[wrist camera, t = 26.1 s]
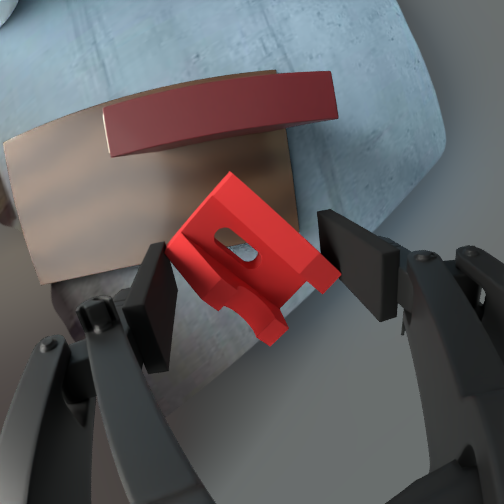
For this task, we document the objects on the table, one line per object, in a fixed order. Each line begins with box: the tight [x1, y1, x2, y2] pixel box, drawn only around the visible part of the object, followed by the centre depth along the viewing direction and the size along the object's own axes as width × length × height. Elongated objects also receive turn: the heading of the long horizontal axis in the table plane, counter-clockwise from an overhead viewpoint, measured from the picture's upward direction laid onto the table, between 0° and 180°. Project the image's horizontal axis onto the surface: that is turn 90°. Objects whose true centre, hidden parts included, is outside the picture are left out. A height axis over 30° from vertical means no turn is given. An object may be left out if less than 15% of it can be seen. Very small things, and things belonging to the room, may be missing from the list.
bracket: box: [164, 171, 341, 346], centre depth 15 cm, size 6×5×3 cm
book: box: [103, 71, 339, 158], centre depth 21 cm, size 2×11×16 cm, turn 99°
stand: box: [3, 70, 299, 285], centre depth 29 cm, size 17×30×1 cm, turn 99°
